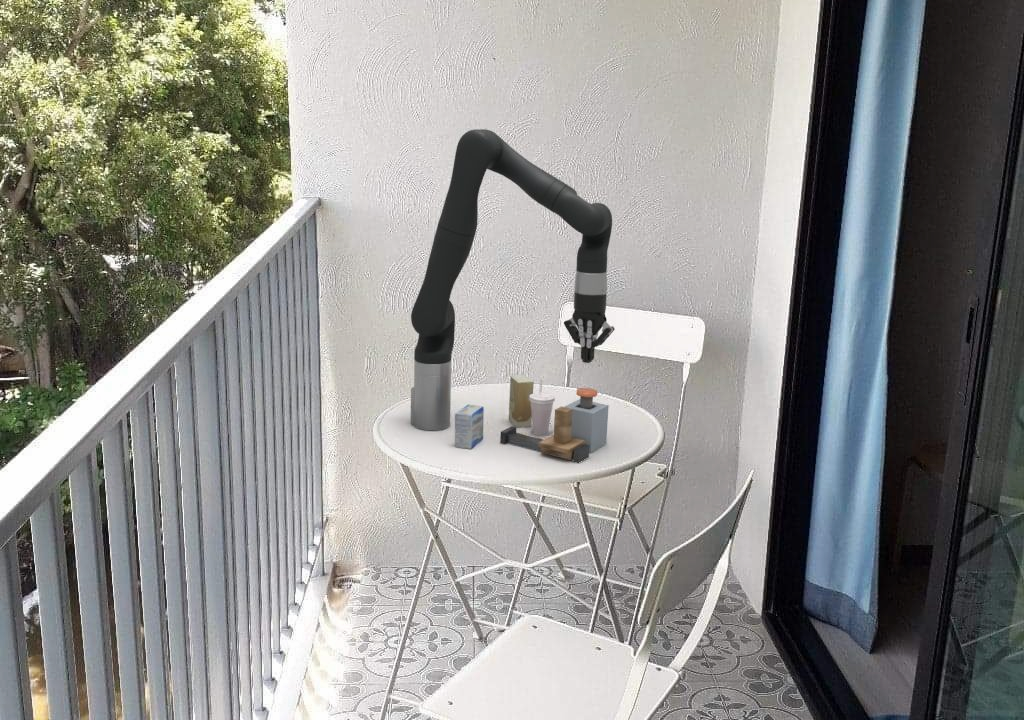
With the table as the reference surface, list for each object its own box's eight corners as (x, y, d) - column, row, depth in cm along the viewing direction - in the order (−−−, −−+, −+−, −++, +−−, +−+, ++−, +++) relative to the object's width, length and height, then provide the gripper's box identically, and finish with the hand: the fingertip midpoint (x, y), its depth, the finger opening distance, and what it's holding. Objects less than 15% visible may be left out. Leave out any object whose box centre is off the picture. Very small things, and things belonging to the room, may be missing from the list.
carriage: (538, 454, 236) (540, 410, 233) (555, 444, 243) (557, 401, 240) (567, 461, 232) (570, 416, 229) (584, 451, 239) (586, 408, 236)
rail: (500, 443, 244) (500, 431, 243) (511, 437, 248) (511, 426, 247) (578, 463, 232) (579, 451, 232) (588, 457, 236) (589, 445, 236)
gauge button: (571, 418, 242) (572, 391, 240) (581, 413, 246) (582, 386, 244) (589, 422, 239) (591, 395, 237) (599, 417, 243) (601, 390, 241)
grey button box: (561, 446, 243) (563, 406, 240) (577, 437, 250) (579, 399, 247) (590, 453, 239) (592, 413, 236) (606, 444, 245) (608, 405, 243)
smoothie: (538, 427, 256) (540, 374, 252) (558, 433, 252) (560, 379, 249) (522, 433, 251) (524, 379, 248) (542, 439, 247) (545, 384, 244)
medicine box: (471, 449, 239) (471, 415, 236) (453, 447, 240) (454, 412, 238) (483, 439, 246) (484, 405, 244) (466, 436, 247) (467, 403, 245)
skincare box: (507, 420, 261) (509, 375, 257) (523, 419, 262) (525, 374, 259) (516, 428, 255) (518, 382, 251) (532, 426, 256) (534, 381, 253)
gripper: (557, 289, 234) (555, 360, 238) (607, 296, 227) (604, 370, 231) (574, 284, 240) (571, 354, 244) (623, 291, 233) (619, 363, 237)
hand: (587, 362), depth 238 cm, fingers closed
